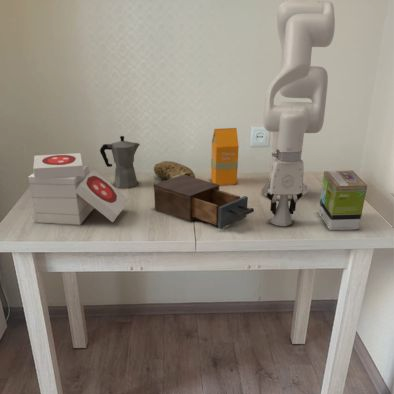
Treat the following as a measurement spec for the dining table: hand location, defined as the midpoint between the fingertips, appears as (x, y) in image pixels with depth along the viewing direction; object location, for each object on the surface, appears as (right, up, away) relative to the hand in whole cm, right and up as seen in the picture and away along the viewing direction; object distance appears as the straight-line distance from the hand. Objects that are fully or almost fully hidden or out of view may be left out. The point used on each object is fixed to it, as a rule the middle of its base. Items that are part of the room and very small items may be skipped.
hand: (282, 212), depth 160 cm
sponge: (-37, +23, +37) cm, 57 cm away
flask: (0, -3, +2) cm, 4 cm away
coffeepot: (-57, +20, +32) cm, 69 cm away
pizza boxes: (-67, 0, +6) cm, 68 cm away
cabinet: (-32, +4, +11) cm, 34 cm away
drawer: (-20, -2, +2) cm, 20 cm away
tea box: (+19, -2, +3) cm, 19 cm away
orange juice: (-17, +22, +36) cm, 46 cm away
